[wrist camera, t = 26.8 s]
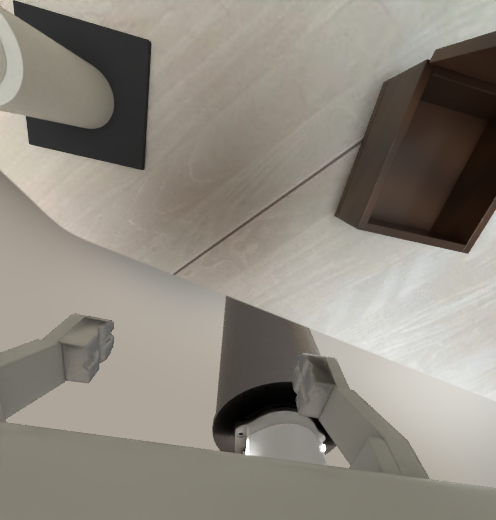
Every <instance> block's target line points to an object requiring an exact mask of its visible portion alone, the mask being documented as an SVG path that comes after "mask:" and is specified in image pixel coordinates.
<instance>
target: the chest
mask: <svg viewBox="0 0 496 520" xmlns="http://www.w3.org/2000/svg"><path fill="white" fill-rule="evenodd" d="M429 62H430V60H428V59H427V60H425V61H423V62H421V63H419V64H418V65H416V66H414V67H412V68H410V69H408V70H406V71H404V72H402V73H401V74H399V75H397V76H395V77H393V78H391V79H389V80H387V81H385V82H384V84H383V87H382V90H381V92H380V95H379V98H378V100H377V103H376V106H375V109H374V111H373V114H372V117H371V119H370V122H369V125H368V128H367V130H366V133H365V136H364V138H363V141H362V144H361V147H360V149H359V152H358V155H357V157H356V160H355V163H354V166H353V168H352V171H351V174H350V176H349V179H348V182H347V185H346V187H345V190H344V193H343V195H342V198H341V201H340V204H339V206H338V209H337V212H336V214H335V216H336V217H338V218H339V219H341V220H343V221H345V222H346V223H348V224H350V225H351V226H353V227H355V228H357V229H360V230H365V231H369V232H373V233H378V234H382V235H387V236H391V237H396V238H400V239H404V240H409V241H413V242H418V243H422V244H427V245H431V246H436V247H440V248H445V249H449V250H454V251H458V252H463V253H469V252H470V250H471V248H472V247H473V245H474V244H475V242H476V240H477V239H478V237H479V236H480V234H481V232H482V231H483V229H484V228H485V226H486V224H487V223H488V221H489V220H490V218H491V216H492V215H493V213H494V211H495V210H496V85H494V84H491V83H488V82H485V81H482V80H479V79H476V78H473V77H470V76H467V75H464V74H461V73H458V72H455V71H452V70H449V69H446V68H443V67H440V66H437V65H434V64H431V63H429Z"/></svg>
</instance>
